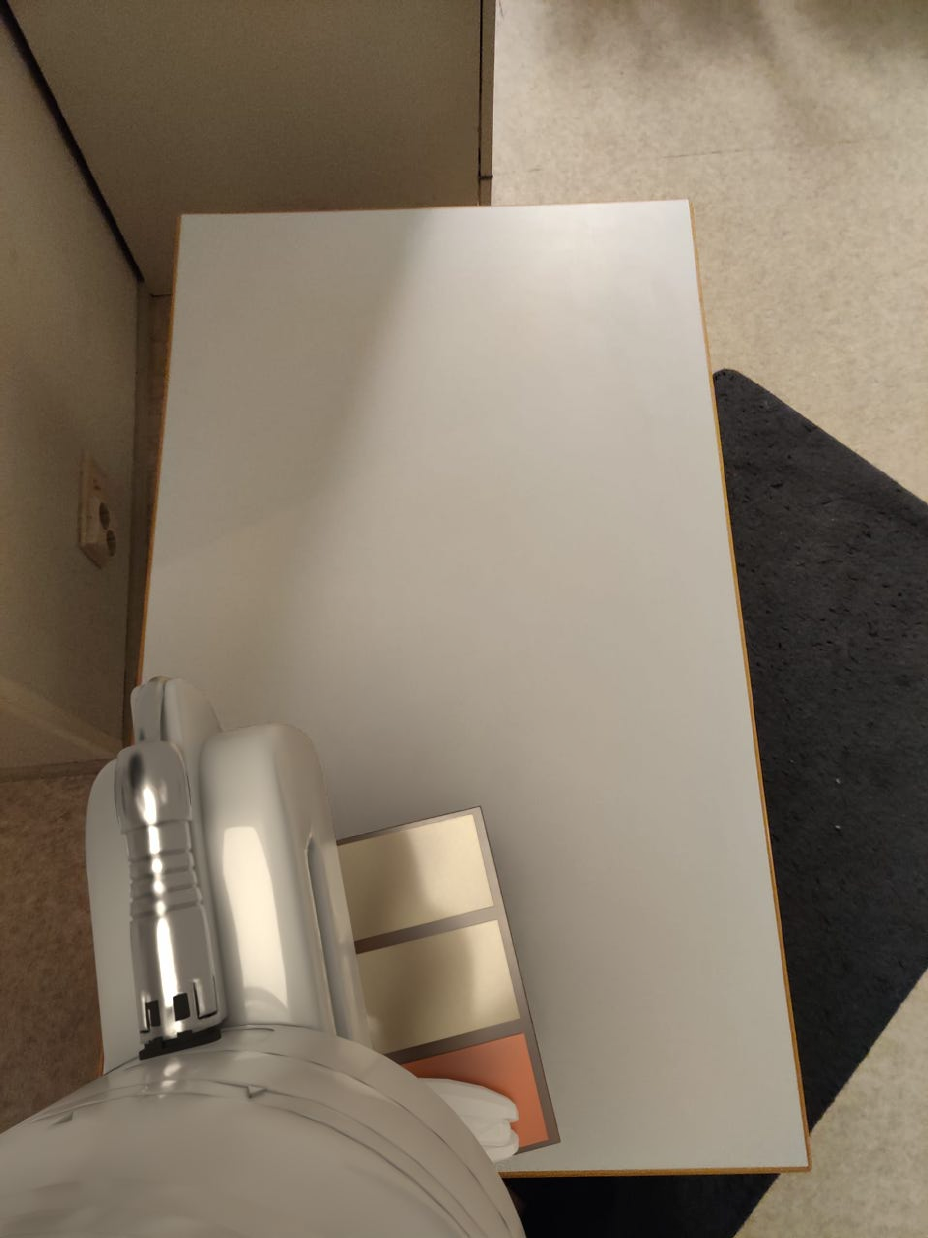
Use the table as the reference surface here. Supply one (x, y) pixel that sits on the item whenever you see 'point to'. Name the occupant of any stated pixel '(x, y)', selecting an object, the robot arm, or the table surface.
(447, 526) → the table surface
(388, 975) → the board
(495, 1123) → the grey ribbed oval piece
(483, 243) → the table surface
